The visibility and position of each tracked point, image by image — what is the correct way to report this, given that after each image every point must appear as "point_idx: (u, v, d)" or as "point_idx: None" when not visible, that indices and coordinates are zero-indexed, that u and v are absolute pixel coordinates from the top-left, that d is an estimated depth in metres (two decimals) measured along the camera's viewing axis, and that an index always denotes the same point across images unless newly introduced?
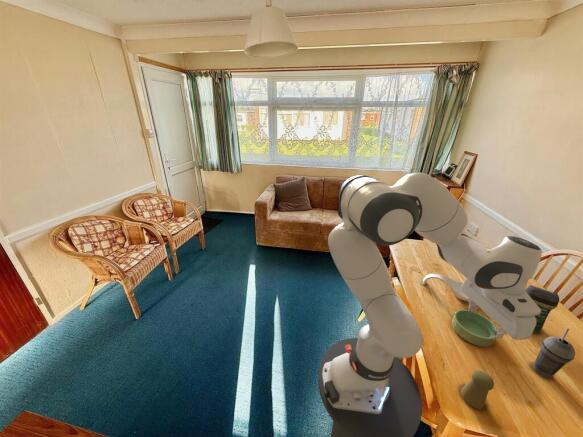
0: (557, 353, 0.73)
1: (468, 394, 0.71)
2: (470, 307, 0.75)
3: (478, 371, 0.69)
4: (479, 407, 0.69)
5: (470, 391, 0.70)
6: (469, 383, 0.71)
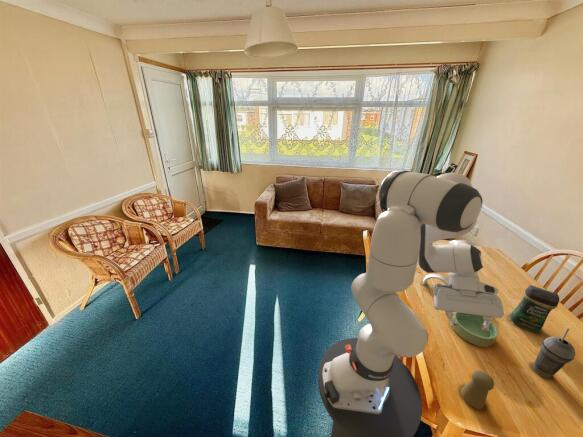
0: (557, 353, 0.73)
1: (468, 394, 0.71)
2: (453, 321, 0.77)
3: (478, 371, 0.69)
4: (479, 407, 0.69)
5: (470, 391, 0.70)
6: (469, 383, 0.71)
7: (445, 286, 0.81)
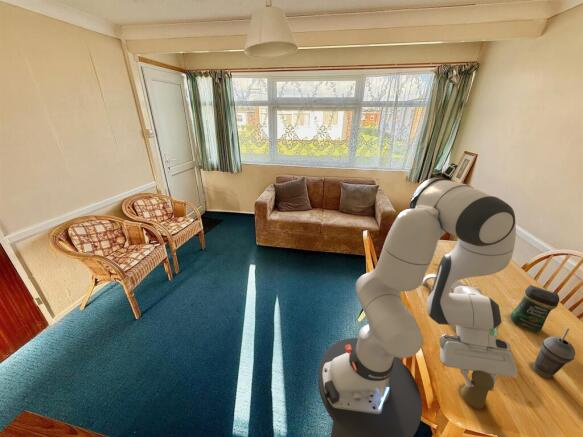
0: (557, 353, 0.73)
1: (468, 394, 0.71)
2: (470, 381, 0.69)
3: (478, 371, 0.69)
4: (479, 407, 0.69)
5: (470, 391, 0.70)
6: None
7: (453, 338, 0.74)
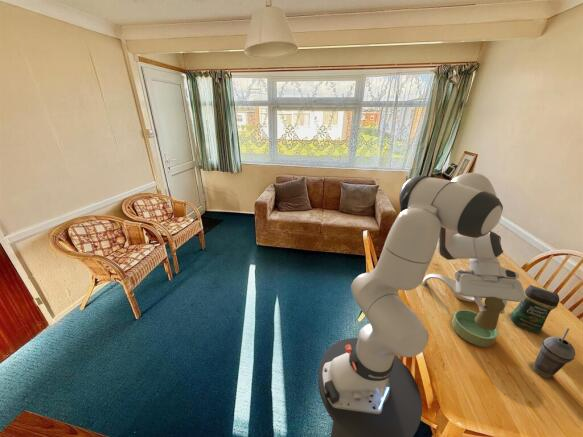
0: (557, 353, 0.73)
1: (481, 318, 0.80)
2: (483, 306, 0.79)
3: (490, 297, 0.79)
4: (491, 329, 0.79)
5: (483, 315, 0.80)
6: None
7: (467, 272, 0.84)
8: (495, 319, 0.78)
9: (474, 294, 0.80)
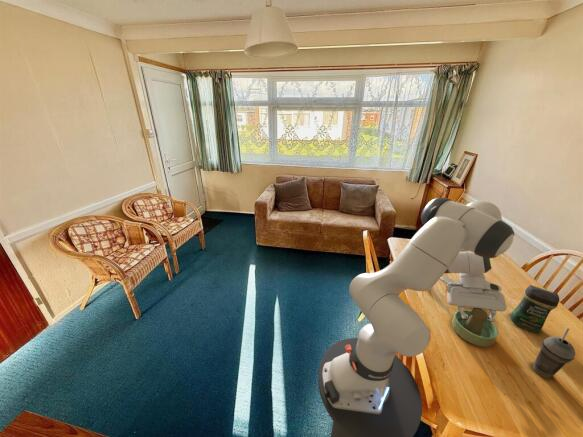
0: (557, 353, 0.73)
1: (468, 326, 0.93)
2: (465, 314, 0.91)
3: (475, 308, 0.91)
4: None
5: (470, 324, 0.92)
6: (469, 318, 0.93)
7: (457, 285, 0.96)
8: (480, 327, 0.90)
9: (463, 304, 0.92)
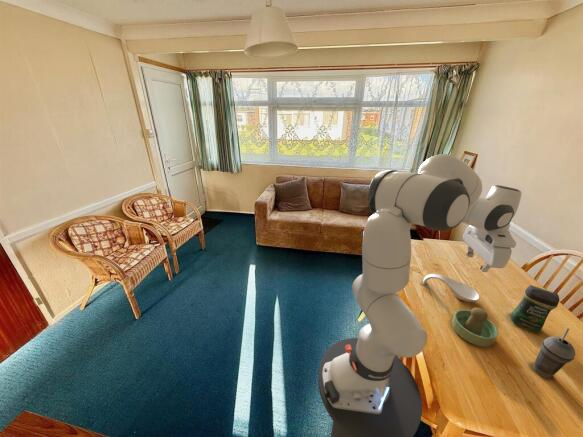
0: (557, 353, 0.73)
1: (468, 326, 0.93)
2: (467, 252, 0.90)
3: (475, 308, 0.91)
4: None
5: (470, 324, 0.92)
6: (469, 318, 0.93)
7: None
8: (480, 327, 0.90)
9: (467, 243, 0.89)
